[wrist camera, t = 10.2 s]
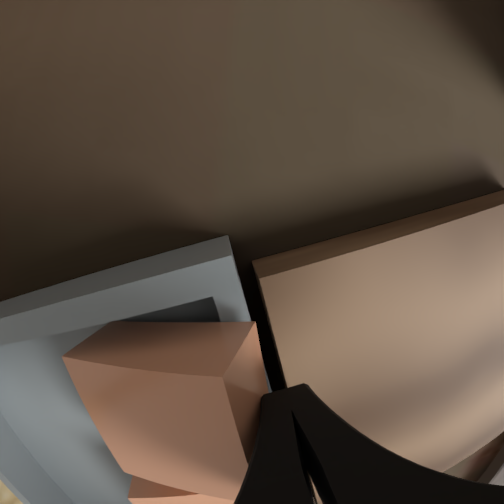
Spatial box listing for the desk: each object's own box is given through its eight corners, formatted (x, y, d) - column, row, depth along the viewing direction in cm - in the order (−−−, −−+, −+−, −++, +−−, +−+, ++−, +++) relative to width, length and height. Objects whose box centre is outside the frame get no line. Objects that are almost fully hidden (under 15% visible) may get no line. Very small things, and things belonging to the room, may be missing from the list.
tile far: (272, 497, 12) (280, 534, 10) (179, 510, 12) (178, 546, 10) (247, 440, 11) (253, 485, 9) (136, 456, 11) (127, 498, 9)
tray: (307, 507, 13) (319, 545, 11) (97, 525, 13) (89, 557, 10) (227, 234, 10) (231, 255, 7) (-51, 318, 9) (-88, 342, 6)
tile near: (279, 447, 9) (260, 504, 7) (155, 430, 11) (123, 472, 8) (255, 321, 8) (222, 376, 6) (111, 320, 10) (61, 356, 7)
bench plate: (487, 414, 14) (504, 430, 12) (314, 497, 13) (322, 523, 11) (505, 189, 11) (536, 192, 9) (251, 260, 10) (259, 278, 8)
